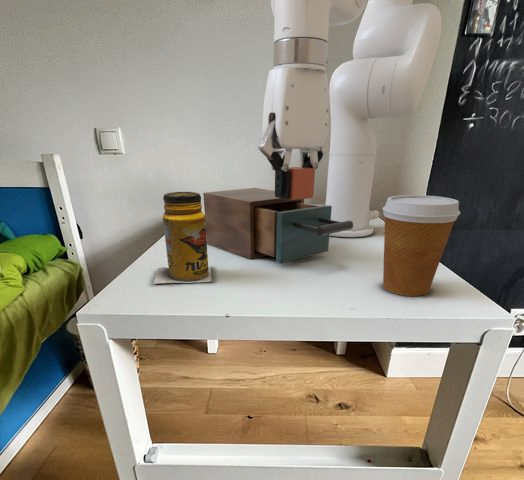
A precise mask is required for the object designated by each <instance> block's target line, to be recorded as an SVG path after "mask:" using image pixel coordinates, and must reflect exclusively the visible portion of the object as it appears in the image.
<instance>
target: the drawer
mask: <svg viewBox="0 0 524 480" xmlns="http://www.w3.org/2000/svg"><path fill="white" fill-rule="evenodd" d="M253 207H254V251H257V252H260V253H263V254H266V255H268V256H269V257H273V258H275V262H276V263H279V264H282V263H287V262H290V261H294V260H295V261H296V260H299V259H302V258H307V257H311V256H315V255H319V254H323V253H327V252H329V245H330V244H329V243H330V235H329V234H332V233H337V232H342V231H346V230H351V229H352V228H353V222H352V221H344V222H339V221H334V220H331V210H332V206H329V205H326V204H324V205H316V204H310V203H305V202H304V203H300V202H294V201H292V202H284V203H276V204H269V205H261V206H253Z"/></svg>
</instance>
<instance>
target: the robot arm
mask: <svg viewBox="0 0 524 480" xmlns="http://www.w3.org/2000/svg"><path fill="white" fill-rule="evenodd" d="M413 2H414V0H270V8H271V13H272V16H273V18H274V20H273V69H270V70H269V71H268V75H267V80H266V85H265V91H264V98H263V99H264V100H263V110H262V126H261V127H262V129H261V130H262V131H261V136H262V137H261V140H260V141H259V143H258V148H257V149H258V151H260V153H261V154H262V155H263V156H264V157H266V159H267V161H268V162H269V164H270V165H271V169H272V171H274V191H275V197H277V198H283V199H289V198H290V195H291V171H288V169H289V167H290V164H291V159H292V154H293V153H292V152H293V150H299V156H300V165H301V166H300V167H303V168H315V172H314V178H315V175H316V170H318V168H319V163H320V162H321V160H322V159H323V157H324V156H325V154H326V153H327V152H328V151H329V154H328V169H327V182H326V196H325V205H329V206H332V210H331V220H334V221H339V222H344V221H352V222H353V228H352V229H351V230H346V231H342V232H337V233H332V234H329V237H339V238H359V237H368V236H371V235H373V233H374V229H375V228H374V226H373V225H371V224H370V221H372V220H377V219H379V217H380V212H379V211H378V210H376V209H375V210H371V209H370V205H371V196H372V190H373V189H372V188H373V182H374V174H375V167H376V158H377V153H378V151H377V150H378V141H377V136H376V135H375V132H374V131H373V129H372V127H371V125H370V123H369V121H368V120H369V119H385V118H389V119H390V118H391V119H393V118H405V117H409V116H410V115H412V114H414V112H415V111H416V110H417V109H418V107H419V105H420V103H421V100H422V97H423V96H424V92H425V90H426V86H427V83H428V80H429V77H430V74H431V71H432V68H433V65H434V62H435V60H436V56H437V53H438V49H439V45H440V42H441V37H442V25H443V24H442V14H441V12H440V9H439V8H438V7H437V5H435V4H433V3H429V2H423V3H422V2H421V3H414V4H413ZM362 13H363V15H362V18H361V20H360V23H359V26H358V28H357V31H356V35H355V38H354V41H353V46H352V57H353V59H352V60H348V61H346V62H343V63H341V64H340V65H338V67H336V69H334V71H333V73H332V75H331V77H330V80H329V81H328V73H327V72H326V71H327V64H328V63H329V56H328V44H329V31H330V29H329V28H330V27H338V26H344V25H347V24H350V23H352V22H354V21H356V20H357V19H358V18H359V17H360V16H361V14H362ZM329 109H330V111H329ZM329 112H330V139H328V127H329ZM329 141H330V142H329ZM314 189H315V186H314V187H313V193H314Z"/></svg>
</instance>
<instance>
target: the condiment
mask: <svg viewBox="0 0 524 480" xmlns="http://www.w3.org/2000/svg"><path fill="white" fill-rule="evenodd" d="M162 198H163V199H162V200H163V204H164V205H163V209H164V213H163V215H162V223H163V232H164V240H165V248H166V259H167V266H168V267H165V266H163V267H157V270H156V275H155V277H154V280H153V283H152V284H153V285H155V284H156V285H157V284H191V283H209V282H212V269H211V268H212V267H211V266H210V265H209V257H208V255H209V254H208V244H207V239H206V226H205V212H203V211H202V210H203V205H202V196H201V194H200V193H199V192H196V191H195V192H194V191H172V192H167V193H164V194H163V197H162Z"/></svg>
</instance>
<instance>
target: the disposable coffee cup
mask: <svg viewBox="0 0 524 480" xmlns="http://www.w3.org/2000/svg"><path fill="white" fill-rule="evenodd" d="M459 205H460V201H459V200H457V199H454V198H450V197H444V196H437V195H423V194H421V195H418V194H417V195H416V194H405V195H404V194H401V195H393V196H392V195H391V196H389V197H387V199H386V202H385V205H384V206H383V207H382V211H383V216H384V240H383V241H384V242H383V273H382V274H383V275H382V276H383V277H382V287H383V289H384V290H386V291H388V292H390V293H392V294H396V295H398V296H399V295H400V296H409V297H419V296H424V295H427V294H428V293H429V292H430V290H431V286H432V284H433V281H434V278H435V275H436V273H437V271H438V267H439V265H440V262H441V259H442V256H443V253H444V251H445V248H446V246H447V243H448V241H449V237H450V235H451V231H452V228H453V226H454V224H455V221H457V220H458V217H459V216H460V215H461V211H460V208H459Z"/></svg>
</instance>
